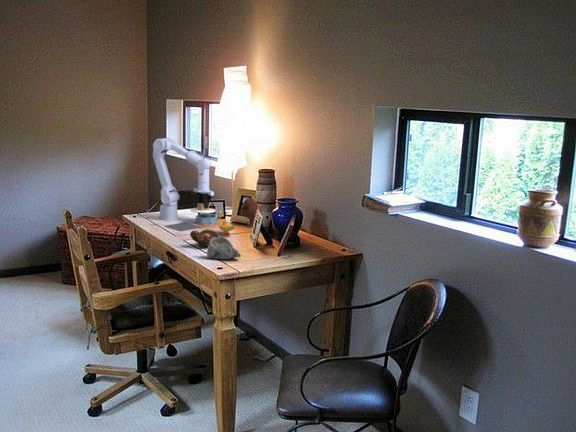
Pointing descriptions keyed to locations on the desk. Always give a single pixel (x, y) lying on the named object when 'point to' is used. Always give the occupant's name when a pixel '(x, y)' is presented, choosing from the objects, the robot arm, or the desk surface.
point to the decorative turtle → (203, 237)
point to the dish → (206, 219)
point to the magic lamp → (226, 227)
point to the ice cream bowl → (249, 210)
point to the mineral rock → (221, 249)
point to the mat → (183, 226)
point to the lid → (202, 209)
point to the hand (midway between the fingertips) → (203, 207)
